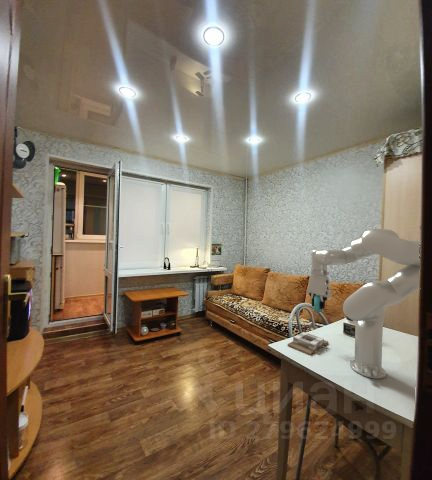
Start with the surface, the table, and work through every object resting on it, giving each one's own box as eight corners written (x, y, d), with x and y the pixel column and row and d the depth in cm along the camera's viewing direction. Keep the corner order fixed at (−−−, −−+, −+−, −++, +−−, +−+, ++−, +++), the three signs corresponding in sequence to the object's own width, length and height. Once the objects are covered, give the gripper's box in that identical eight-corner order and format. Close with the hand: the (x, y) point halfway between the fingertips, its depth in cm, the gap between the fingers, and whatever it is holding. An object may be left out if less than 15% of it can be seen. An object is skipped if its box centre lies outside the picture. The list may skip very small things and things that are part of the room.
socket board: (310, 355, 106) (310, 348, 106) (287, 345, 115) (287, 339, 115) (328, 343, 119) (328, 336, 119) (306, 335, 128) (306, 329, 128)
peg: (321, 312, 116) (322, 297, 116) (313, 311, 118) (313, 296, 118) (322, 310, 119) (322, 295, 119) (314, 309, 121) (314, 294, 121)
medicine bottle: (342, 333, 132) (343, 313, 132) (347, 330, 136) (347, 311, 136) (356, 338, 126) (357, 317, 126) (360, 334, 131) (361, 314, 131)
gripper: (338, 274, 113) (337, 310, 113) (309, 270, 127) (308, 302, 128) (329, 275, 109) (328, 313, 109) (300, 271, 124) (300, 304, 124)
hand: (318, 307), depth 118 cm, fingers closed on peg, 4 cm apart
